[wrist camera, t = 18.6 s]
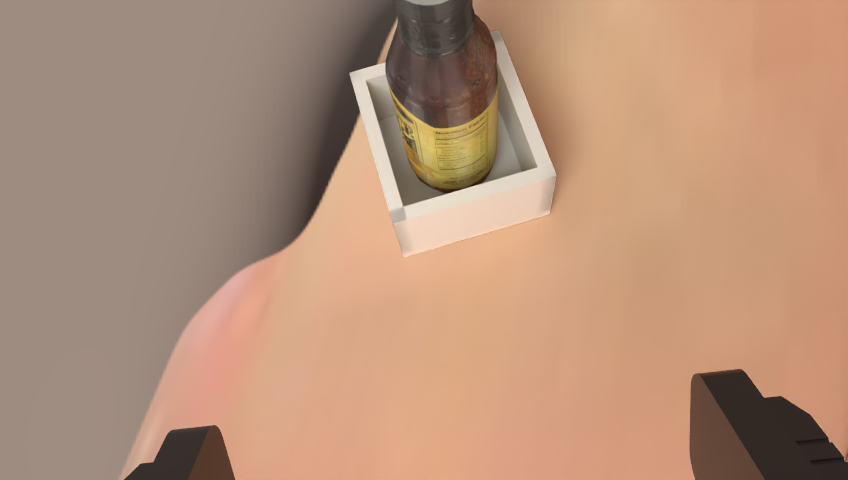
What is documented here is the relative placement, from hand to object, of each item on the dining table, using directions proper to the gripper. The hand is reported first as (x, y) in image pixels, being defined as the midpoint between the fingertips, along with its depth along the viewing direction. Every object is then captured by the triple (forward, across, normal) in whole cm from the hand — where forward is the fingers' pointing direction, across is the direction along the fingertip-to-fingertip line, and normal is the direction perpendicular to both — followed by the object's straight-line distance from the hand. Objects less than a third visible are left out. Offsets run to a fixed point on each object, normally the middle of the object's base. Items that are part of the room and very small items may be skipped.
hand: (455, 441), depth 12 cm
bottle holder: (+40, -1, +8) cm, 41 cm away
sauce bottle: (+39, -1, +8) cm, 40 cm away
